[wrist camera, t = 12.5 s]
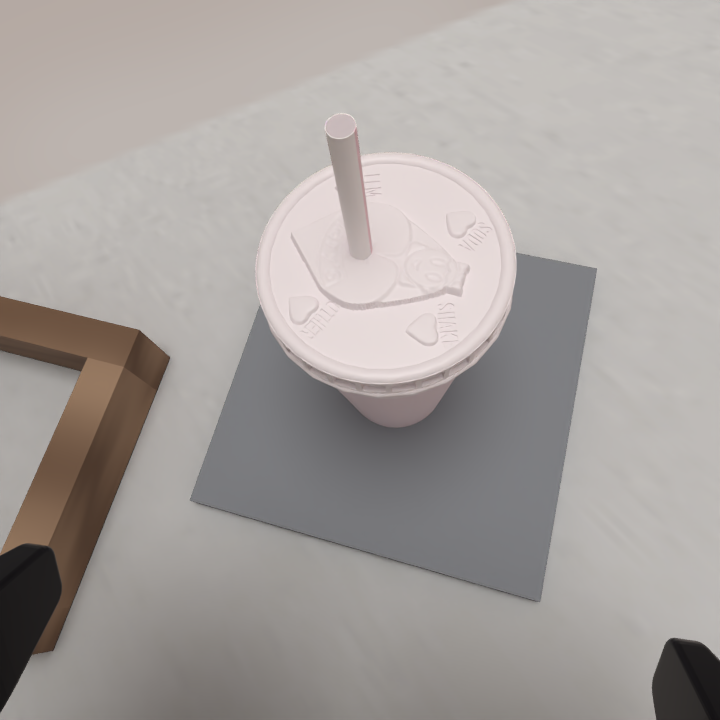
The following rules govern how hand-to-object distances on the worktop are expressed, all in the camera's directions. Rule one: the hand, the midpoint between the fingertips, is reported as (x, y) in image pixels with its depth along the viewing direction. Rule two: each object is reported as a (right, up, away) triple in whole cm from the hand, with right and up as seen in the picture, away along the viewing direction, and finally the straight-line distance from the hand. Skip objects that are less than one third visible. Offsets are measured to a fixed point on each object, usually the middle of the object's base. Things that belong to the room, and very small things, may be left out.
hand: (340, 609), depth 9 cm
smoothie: (+2, +3, +15) cm, 15 cm away
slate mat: (+2, +3, +15) cm, 16 cm away
